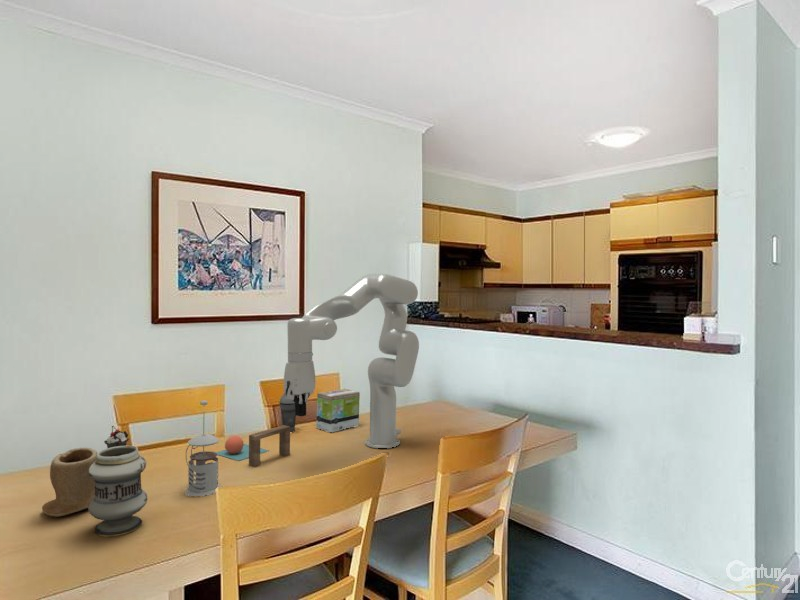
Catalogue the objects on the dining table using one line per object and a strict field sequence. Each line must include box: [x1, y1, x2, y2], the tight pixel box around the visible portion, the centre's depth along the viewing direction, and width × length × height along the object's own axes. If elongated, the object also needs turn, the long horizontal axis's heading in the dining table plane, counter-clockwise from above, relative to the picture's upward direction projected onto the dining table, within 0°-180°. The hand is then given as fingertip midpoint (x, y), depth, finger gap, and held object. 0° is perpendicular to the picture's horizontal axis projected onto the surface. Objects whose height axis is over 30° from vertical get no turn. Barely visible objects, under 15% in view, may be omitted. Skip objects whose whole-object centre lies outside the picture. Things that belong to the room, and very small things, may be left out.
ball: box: [224, 435, 245, 454], centre depth 173 cm, size 6×6×6 cm
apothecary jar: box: [87, 445, 148, 538], centre depth 118 cm, size 12×12×18 cm
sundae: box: [104, 425, 130, 449], centre depth 153 cm, size 7×7×15 cm
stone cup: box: [41, 447, 98, 517], centre depth 128 cm, size 15×12×15 cm
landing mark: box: [216, 443, 270, 462], centre depth 174 cm, size 13×13×1 cm
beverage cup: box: [279, 392, 297, 433], centre depth 201 cm, size 7×7×20 cm
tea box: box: [315, 388, 361, 433], centre depth 208 cm, size 15×10×15 cm
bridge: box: [248, 425, 291, 468], centre depth 167 cm, size 3×15×10 cm, turn 147°
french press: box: [184, 399, 222, 497], centre depth 141 cm, size 10×12×25 cm
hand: (300, 415), depth 160 cm, fingers closed
